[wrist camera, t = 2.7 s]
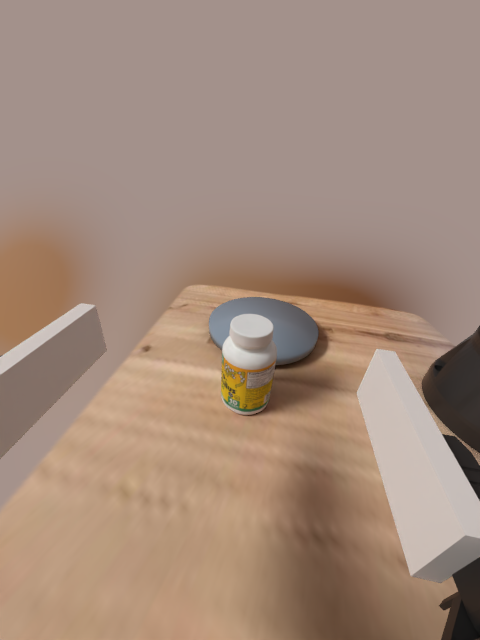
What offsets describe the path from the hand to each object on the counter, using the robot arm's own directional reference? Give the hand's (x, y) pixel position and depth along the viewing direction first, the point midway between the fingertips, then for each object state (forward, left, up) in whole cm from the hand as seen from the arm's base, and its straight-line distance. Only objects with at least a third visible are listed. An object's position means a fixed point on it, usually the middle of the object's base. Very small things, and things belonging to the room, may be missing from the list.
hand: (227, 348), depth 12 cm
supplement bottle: (-3, -10, -15) cm, 18 cm away
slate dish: (-7, -22, -15) cm, 27 cm away
